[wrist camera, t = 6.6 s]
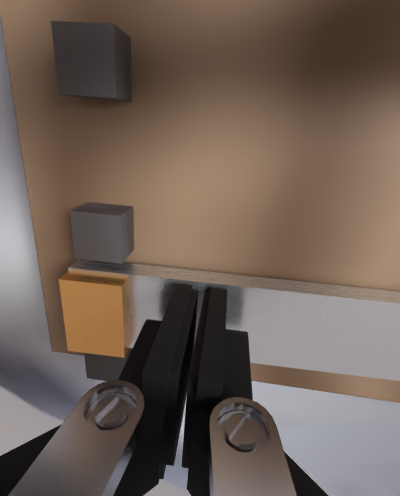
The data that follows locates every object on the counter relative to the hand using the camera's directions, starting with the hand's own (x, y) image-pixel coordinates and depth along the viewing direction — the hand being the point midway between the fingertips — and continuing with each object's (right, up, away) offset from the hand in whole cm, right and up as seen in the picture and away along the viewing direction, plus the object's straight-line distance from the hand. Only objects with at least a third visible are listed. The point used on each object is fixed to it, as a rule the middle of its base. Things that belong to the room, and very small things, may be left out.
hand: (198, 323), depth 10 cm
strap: (+4, 0, +1) cm, 4 cm away
